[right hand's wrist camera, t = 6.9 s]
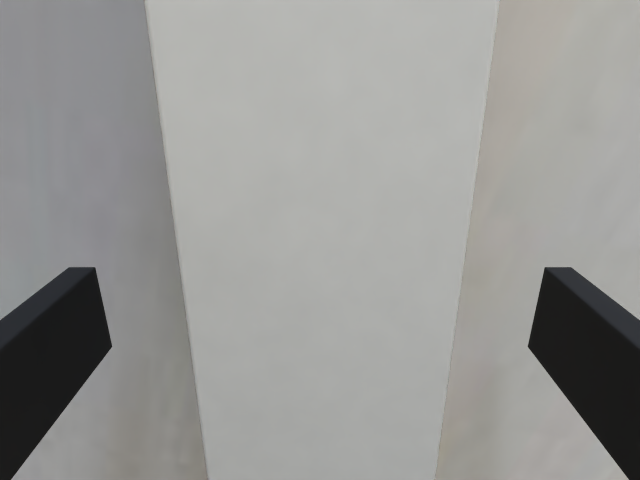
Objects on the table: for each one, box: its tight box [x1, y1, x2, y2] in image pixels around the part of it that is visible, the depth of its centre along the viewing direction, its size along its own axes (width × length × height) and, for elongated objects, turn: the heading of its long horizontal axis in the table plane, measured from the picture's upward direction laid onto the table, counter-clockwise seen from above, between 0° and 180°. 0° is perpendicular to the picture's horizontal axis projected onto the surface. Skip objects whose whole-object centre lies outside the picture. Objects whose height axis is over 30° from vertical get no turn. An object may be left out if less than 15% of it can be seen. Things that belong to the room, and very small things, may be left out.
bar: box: [144, 0, 500, 480], centre depth 9 cm, size 22×4×8 cm, turn 0°
